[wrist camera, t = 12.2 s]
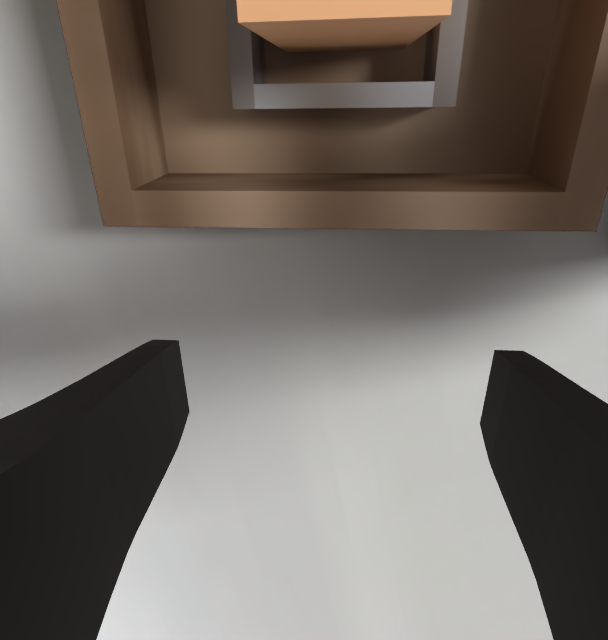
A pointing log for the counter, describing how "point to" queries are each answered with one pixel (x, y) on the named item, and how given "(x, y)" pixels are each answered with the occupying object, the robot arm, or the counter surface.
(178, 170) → the walled box
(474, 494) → the counter surface
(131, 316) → the counter surface
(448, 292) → the counter surface
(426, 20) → the peach plain square-edged block
